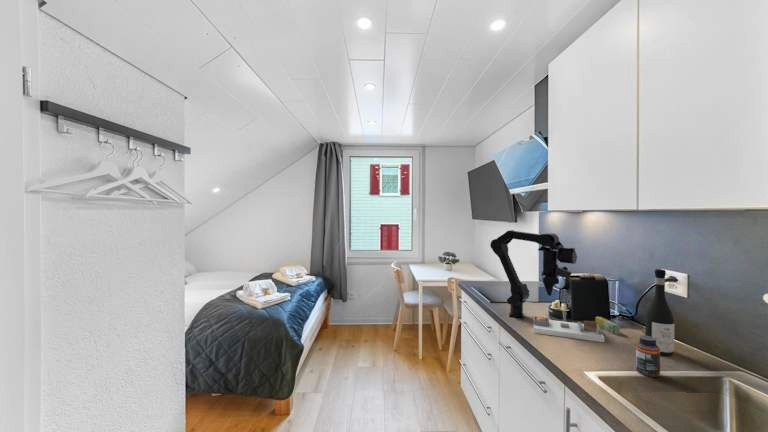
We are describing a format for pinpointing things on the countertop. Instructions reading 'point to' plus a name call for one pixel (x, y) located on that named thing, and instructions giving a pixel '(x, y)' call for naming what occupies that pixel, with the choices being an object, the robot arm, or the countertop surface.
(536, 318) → the push button
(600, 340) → the control panel
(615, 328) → the medication box
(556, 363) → the countertop surface
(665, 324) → the wine bottle
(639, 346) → the supplement bottle
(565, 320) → the toggle lever
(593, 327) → the paddle
